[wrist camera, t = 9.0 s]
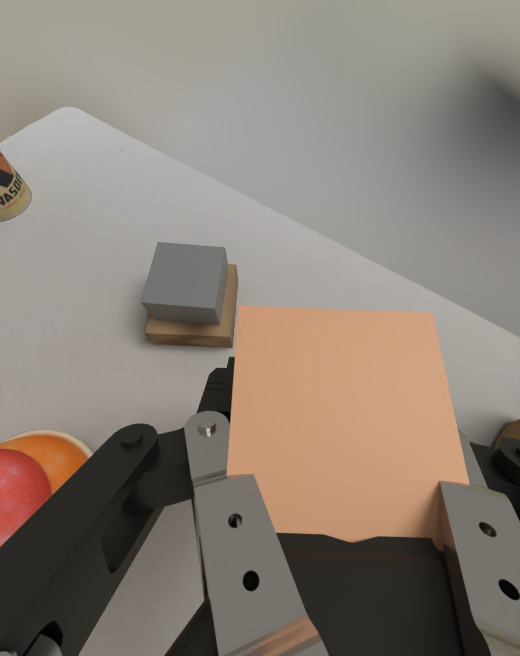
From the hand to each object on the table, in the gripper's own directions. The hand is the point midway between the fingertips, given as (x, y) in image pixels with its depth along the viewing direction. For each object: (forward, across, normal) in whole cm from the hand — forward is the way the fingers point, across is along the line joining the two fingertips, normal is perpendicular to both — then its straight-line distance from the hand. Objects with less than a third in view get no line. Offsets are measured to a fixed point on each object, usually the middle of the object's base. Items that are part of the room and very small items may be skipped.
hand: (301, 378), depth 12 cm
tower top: (+20, +9, +2) cm, 22 cm away
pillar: (+2, 0, +4) cm, 5 cm away
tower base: (+22, +9, +5) cm, 25 cm away
